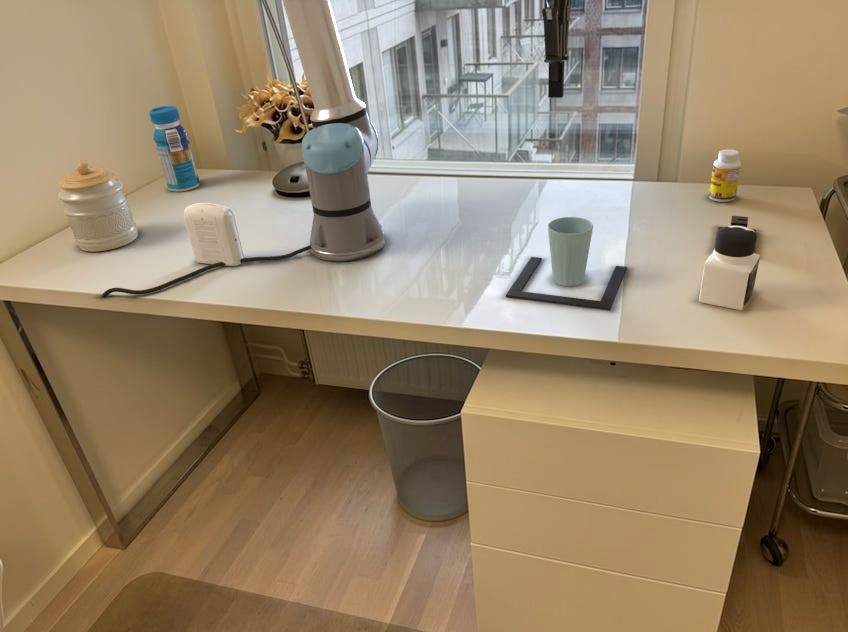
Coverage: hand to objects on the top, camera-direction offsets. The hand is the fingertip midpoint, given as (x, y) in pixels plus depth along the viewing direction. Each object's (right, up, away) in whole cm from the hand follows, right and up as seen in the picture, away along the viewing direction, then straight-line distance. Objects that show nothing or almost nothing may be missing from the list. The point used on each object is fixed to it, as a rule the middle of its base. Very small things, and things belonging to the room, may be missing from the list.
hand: (555, 96), depth 139 cm
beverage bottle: (-91, -7, +45) cm, 102 cm away
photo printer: (-68, -33, +3) cm, 75 cm away
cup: (0, -38, -13) cm, 41 cm away
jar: (-97, -26, +17) cm, 102 cm away
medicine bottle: (+25, -42, -23) cm, 54 cm away
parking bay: (0, -38, -14) cm, 41 cm away
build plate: (+34, -30, -5) cm, 45 cm away
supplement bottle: (+39, -17, +14) cm, 45 cm away
